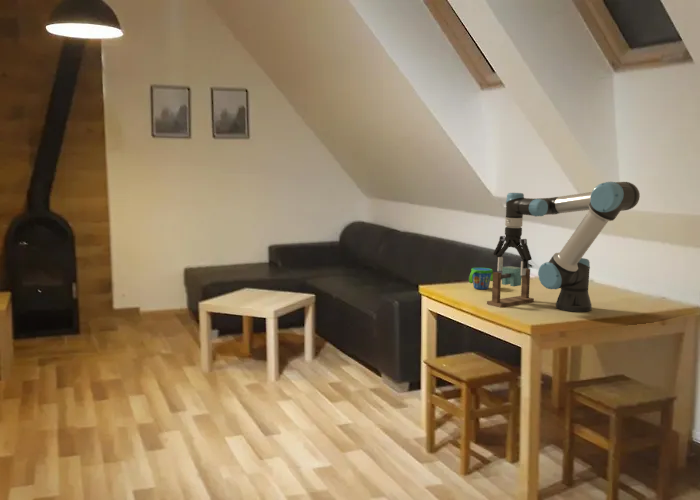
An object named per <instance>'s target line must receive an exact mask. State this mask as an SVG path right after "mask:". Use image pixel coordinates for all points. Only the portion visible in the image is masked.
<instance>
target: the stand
mask: <svg viewBox="0 0 700 500" xmlns="http://www.w3.org/2000/svg"><path fill="white" fill-rule="evenodd" d="M510 277H511V274H509V273H507V274H502V272H500V271H495V272H494V271H493V281H492V290H491V292H492V293H491V295H492V296H491V300H487V301H486V305H487V304H488V306H493V307H496V308H505V307H511V306H517V305H522V304H529V303H534V301H535V298H533V297H530V284H531V283H530V282H531V281H530V280H531V278H530V277H531V269H530V268H526V275H523V276H521V289H520V290H521V291H520V295H517V296H511V297H505V298H501V288H502V287H501V285H502V279H503V278H510Z"/></svg>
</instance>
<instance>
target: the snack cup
mask: <svg viewBox="0 0 700 500" xmlns="http://www.w3.org/2000/svg"><path fill="white" fill-rule="evenodd" d="M470 270H471V272H470V274H469V277H468V282H469V283H470V284H473V285H472V286H473V289H475V290H488V289H489V287H490V283H491V282H493V272H494V271H493V269H492V268H489V267H472V268H471V269H470Z"/></svg>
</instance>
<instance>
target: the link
mask: <svg viewBox="0 0 700 500" xmlns="http://www.w3.org/2000/svg"><path fill="white" fill-rule="evenodd" d="M507 273H509V274H511V277H510V278H503V279H501V285H503V286H504V285H505V286H507V285H510V287H520V286H522V276H521V275H520V274H521V267H518V266H513V265H512V266H511V265H508V266H503V267H502V271H501V274H507Z"/></svg>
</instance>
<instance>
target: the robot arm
mask: <svg viewBox="0 0 700 500" xmlns="http://www.w3.org/2000/svg"><path fill="white" fill-rule="evenodd" d="M640 197H641V196H640V190H639V189H638V187H637V186H636V185H635V184H634V183H632V182H628V181H617V182H616V181H605V182H602V183H599V184H597V185H596V186H595V187H594V188H593V190H592V191H590V192H582V193H576V194H569V195H562V196H560V195H559V196H552V197H543V198H541V197H540V198H527V197H525V194H524V193H522V192H508V193H507V194H506V201H505V223H504V224H505V228H504V235H500V236H499V241H498V243H497V245H496V247H495V249H494V252H493V255H494V256H496V264H497V271H496V272H502V267H504V266H503V265H504V257H503V255H504V254H505V253H506V252H507V250H508V249H509V248H514V249H515V250H517V253H518V254H519V257H520V258H521V261H520V268H521V274H520V275H521V277H522V276H523V275H526V269H528V262H529V261H531V260H533V259H532V256H531V252H530V249H529V247H528V239H527V238H522V234H523V220H524V218H523V217H524V215H526V216H531V217H544V216H546V215H547V216H548V215H558V214H564V213H565V214H566V213H573V212H583V211H584V212H585V211H588V212H587V213H586V214H585V216H584V217H583V218H582V220H581V221H580V223H579V225H578V226H577V227H576V228H575V230H574V232H573V233H572V234H571V236H569V239H568V240H567V242H566V243H565V244H564V246H563V247H562V249H561V250H560V252H555V253H554V254H553V255H552V256H551V258H549V261H546V262H544V263H542V264H541V265H540V266H539V268H538V271H537V276H538V280H539V281H540V284H541V285H542V286H543V287H544V288H546V289H548V290H559V289H560V292H559V295H558V297H557V299H556V302H555V308H556V309H557V310H561V311H565V312H566V311H567V312H576V313H577V312H579V313H580V312H581V313H583V312H584V313H585V312H589V311H592V306H593V305H592V302H591V298H590V294H589V282H590V269H591V267H590V263H591V262H590V260H589V259H588V258H584V255H585V254H586V252H588V250H589V248H590V247H591V245H592V244H593V243H594V241H595V240H596V239H597V238H598V236H599V235H600V233H601V232H602V230H603V229H604V228H605V227H606V225H607V224H608V223H609V222H611V221H612V222H614V221H615V219H616V218H617V217H618V215H619V214H620V212H622V211H628V210H631V209H633V208H635V207H636V206H637V205H638V203H639V201H640Z"/></svg>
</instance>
